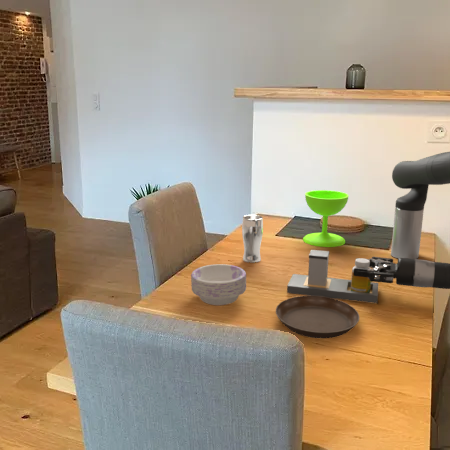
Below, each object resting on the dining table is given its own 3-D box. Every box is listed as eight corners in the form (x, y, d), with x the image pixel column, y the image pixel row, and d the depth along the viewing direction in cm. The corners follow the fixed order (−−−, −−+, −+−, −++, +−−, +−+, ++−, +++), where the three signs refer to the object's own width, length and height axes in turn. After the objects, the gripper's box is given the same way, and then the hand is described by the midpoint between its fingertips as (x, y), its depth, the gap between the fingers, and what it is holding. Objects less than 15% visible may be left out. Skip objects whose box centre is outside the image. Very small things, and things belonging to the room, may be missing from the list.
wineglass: (349, 247, 193) (352, 199, 188) (305, 246, 193) (308, 199, 188) (340, 234, 208) (343, 190, 203) (300, 234, 208) (302, 190, 203)
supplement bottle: (370, 297, 147) (373, 264, 144) (350, 295, 148) (353, 262, 145) (369, 289, 152) (371, 258, 149) (350, 288, 153) (352, 256, 151)
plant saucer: (361, 347, 121) (362, 334, 120) (271, 339, 124) (272, 326, 123) (355, 310, 140) (356, 298, 139) (278, 304, 144) (279, 292, 143)
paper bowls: (184, 293, 150) (183, 267, 148) (232, 285, 156) (232, 260, 154) (202, 314, 137) (202, 286, 135) (255, 305, 143) (255, 277, 140)
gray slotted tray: (292, 280, 160) (294, 245, 157) (377, 290, 153) (381, 253, 150) (287, 292, 151) (288, 255, 148) (377, 303, 144) (380, 264, 141)
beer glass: (238, 261, 177) (239, 218, 173) (245, 255, 183) (246, 213, 179) (258, 264, 174) (259, 220, 170) (264, 258, 180) (265, 215, 176)
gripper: (415, 252, 149) (356, 246, 154) (418, 268, 136) (354, 262, 141) (412, 276, 151) (354, 270, 156) (415, 295, 138) (352, 288, 143)
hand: (354, 266), depth 148 cm, fingers open, 8 cm apart
